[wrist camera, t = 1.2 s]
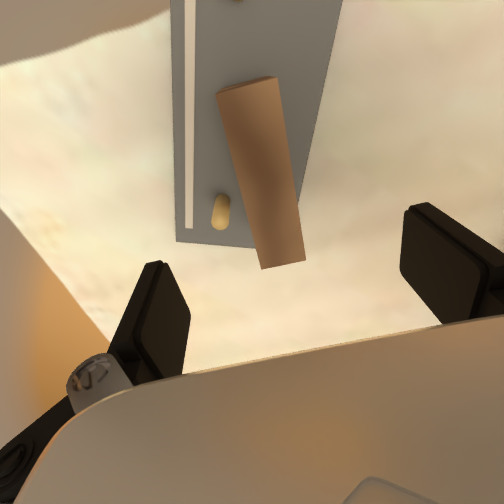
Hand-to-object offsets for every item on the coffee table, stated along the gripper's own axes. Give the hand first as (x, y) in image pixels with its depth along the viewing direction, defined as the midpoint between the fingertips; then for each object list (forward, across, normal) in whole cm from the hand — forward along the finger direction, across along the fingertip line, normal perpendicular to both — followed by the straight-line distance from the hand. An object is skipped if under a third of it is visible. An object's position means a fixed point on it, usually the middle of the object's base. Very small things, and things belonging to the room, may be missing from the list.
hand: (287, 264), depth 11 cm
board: (+20, 0, -3) cm, 21 cm away
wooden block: (+19, 0, +1) cm, 19 cm away
